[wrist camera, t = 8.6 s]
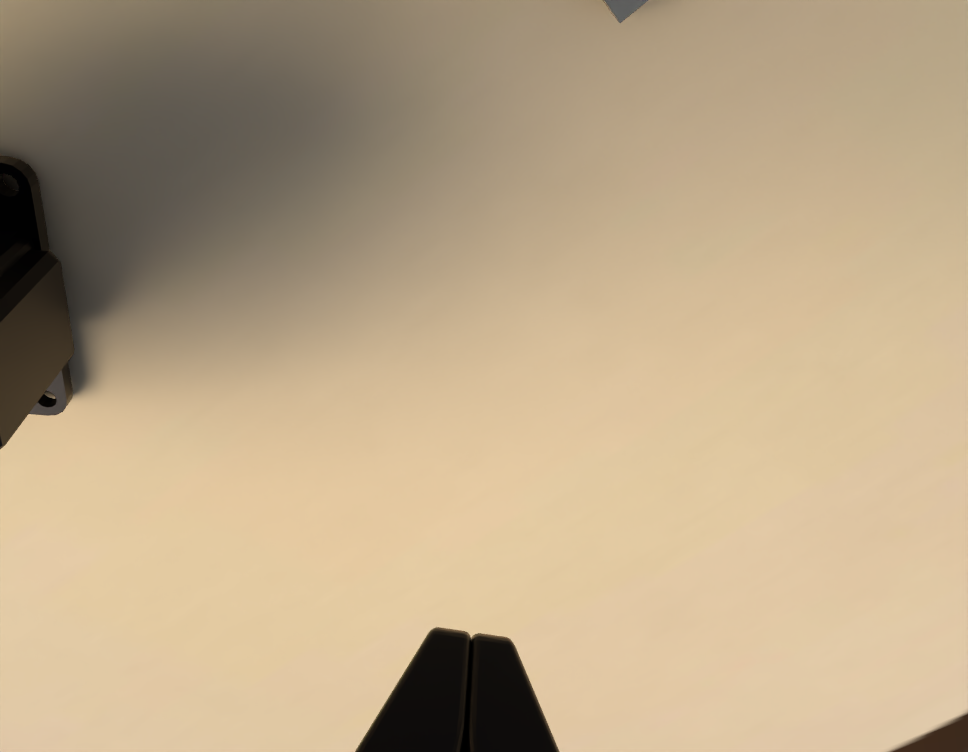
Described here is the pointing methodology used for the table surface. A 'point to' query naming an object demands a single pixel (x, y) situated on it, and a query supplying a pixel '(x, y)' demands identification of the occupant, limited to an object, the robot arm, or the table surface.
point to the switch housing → (623, 7)
